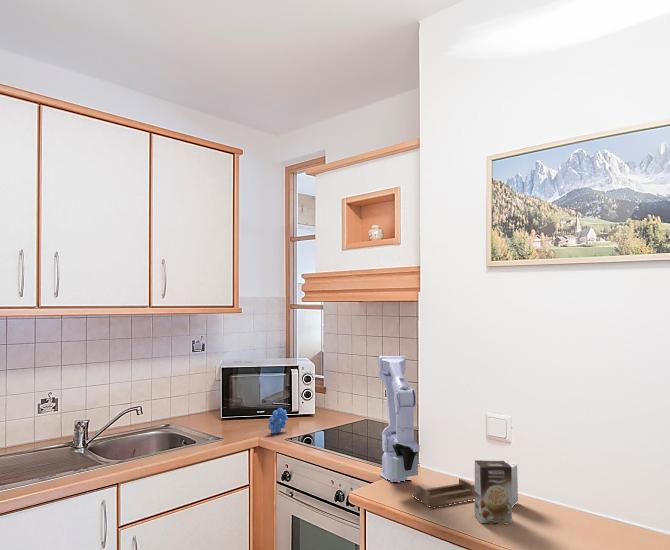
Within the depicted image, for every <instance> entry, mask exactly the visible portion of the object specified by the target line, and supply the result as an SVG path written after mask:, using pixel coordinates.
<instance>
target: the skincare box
mask: <svg viewBox="0 0 670 550" xmlns="http://www.w3.org/2000/svg"><path fill="white" fill-rule="evenodd" d="M504 462H505V461H504ZM505 463H508V464H509V465H510V466H511V467H512V506H513V505H514V504H515V503H516V502H517V501H518V502H519V488H518V486H519V484H518V483H519V482H518V464H517V463H511V462H505Z"/></svg>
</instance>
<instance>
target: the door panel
mask: <svg viewBox="0 0 670 550" xmlns="http://www.w3.org/2000/svg"><path fill="white" fill-rule="evenodd" d="M418 462H419V458H418V456H417V455H416V456H415V458H414V461H413V465H412V469H411V470H408V471H406V470H405V468H404V460H403V456H396V457H392V476H394V477H395V478H404V477H409V478H411V477H415V476H418V475H419V465H418V464H419V463H418Z"/></svg>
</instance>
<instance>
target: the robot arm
mask: <svg viewBox="0 0 670 550" xmlns="http://www.w3.org/2000/svg"><path fill="white" fill-rule="evenodd" d="M406 368H407V362H406V357H405V356H404V355H379V357H378V359H377V370H378V377H379V380H381V381H382V382H383V383H384V387H385V396H386V408H387V418H388V419H387V421H388V426H387V427H385V428H384V429H383V430H382V432H381V447H382V451H383V452H384V453H383V454H382V456H381V473H380V474H379V476H380V477H382V478H383V479H385V480H387V479H390V481H391V482H398V481H404V480H407V479H408V477H404V478H395V477H394V476H392V457H396V456H403V460H404V468H405V470H406V471H408V470H411V469H412V465H413V461H414V458H415V456H417V454H418V453H419V452H421V451H420V450H421V447H420V446H421V445H419V444H418V443H417V441H416V440H415V433H414V432H415V425H414V423H415V422H414V421H415V419H414V415H415V414H414V411H415V409H414V408H416V403H417V401H416V400H417V397H416V392H415V389H414V388H411V385H410V383H409V380H408V379H407V377H405V372H406ZM390 481H389V482H390ZM391 482H390V483H391ZM404 482H405V481H404ZM398 483H399V482H398Z"/></svg>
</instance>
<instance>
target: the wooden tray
mask: <svg viewBox="0 0 670 550" xmlns="http://www.w3.org/2000/svg"><path fill="white" fill-rule="evenodd" d="M412 495H413V496H414V497H416V498H417V499H419V500H420V501H422V502H423V503H425V504H426V505H428V506H430V507H431V508H434V507H439V506H445V505H449V504H454V503H459V502H464V501H468V500H473V499H475V484H473V483H471V482H469V481H467V480H465V479H463V478H458V483H454V484H448V485H442V486H436V487H431V488H423V487H421V486H420V485H415V492H412V493H411V496H412ZM414 497H413V498H414ZM417 499H416V500H417ZM420 501H419V502H420ZM423 503H422V504H423ZM426 505H425V506H426ZM428 506H427V507H428ZM445 507H446V506H445ZM431 508H430V509H431Z"/></svg>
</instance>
